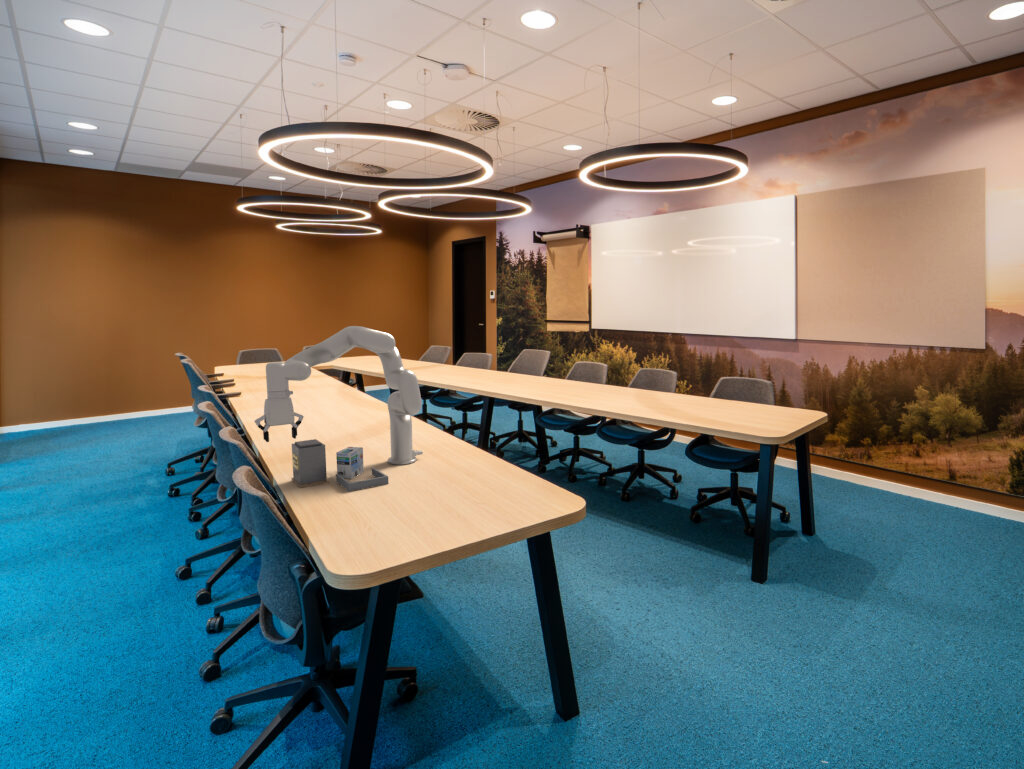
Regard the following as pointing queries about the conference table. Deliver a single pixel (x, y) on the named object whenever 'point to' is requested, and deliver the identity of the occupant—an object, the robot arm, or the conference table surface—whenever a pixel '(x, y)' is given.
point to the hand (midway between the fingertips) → (280, 439)
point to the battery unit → (309, 463)
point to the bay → (364, 481)
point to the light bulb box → (350, 462)
